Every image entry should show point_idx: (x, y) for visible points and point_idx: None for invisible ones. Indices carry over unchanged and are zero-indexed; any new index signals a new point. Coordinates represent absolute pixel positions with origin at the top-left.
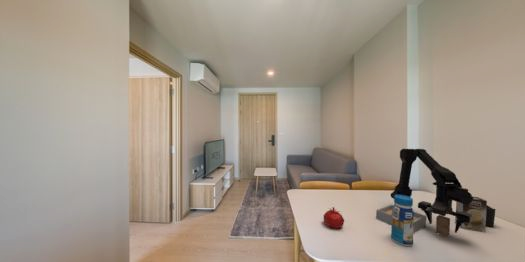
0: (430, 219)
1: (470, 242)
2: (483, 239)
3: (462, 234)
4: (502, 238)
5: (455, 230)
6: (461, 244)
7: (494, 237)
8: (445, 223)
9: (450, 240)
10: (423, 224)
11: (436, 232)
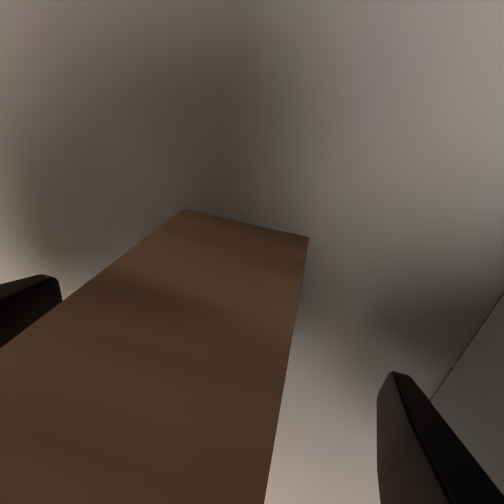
0: (429, 490)
1: (22, 259)
2: None
3: None
4: None
5: (4, 292)
6: (19, 99)
7: None
8: (31, 370)
9: (123, 112)
10: (492, 367)
11: (298, 238)
